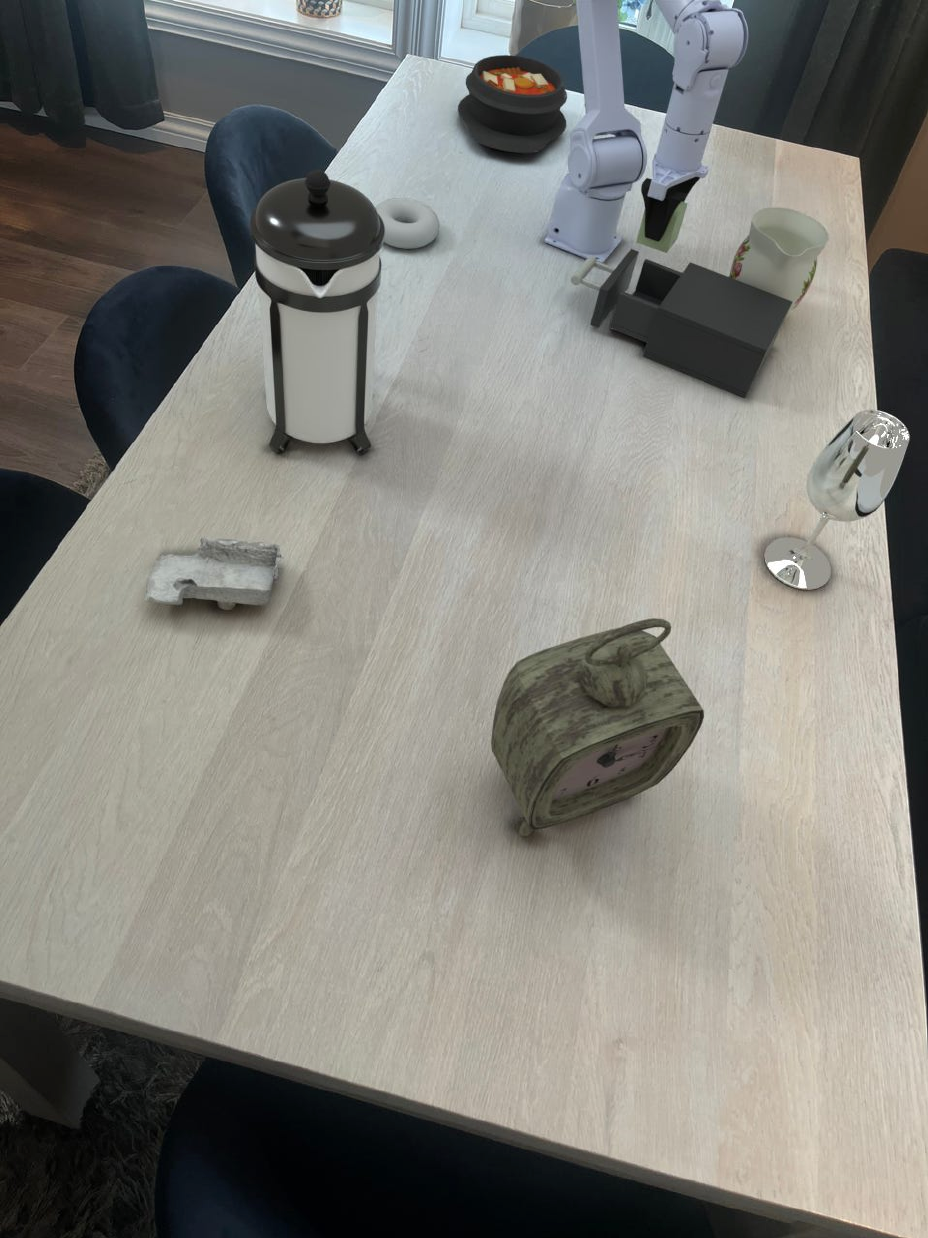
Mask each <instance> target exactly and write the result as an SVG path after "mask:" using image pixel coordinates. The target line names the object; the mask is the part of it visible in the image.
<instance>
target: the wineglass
mask: <svg viewBox="0 0 928 1238" xmlns="http://www.w3.org/2000/svg"><path fill="white" fill-rule="evenodd" d="M910 440H911V436H910V432H909V430H908V428H907V427H906V425H905V423H903V422H902V421H901V420H900V419H898V418H897V417H896V416H894V415H892V414H891V413H890V414H889V413H888V412H885V411H881V410H876V409H864V410H861V411H858V412H857V413H855V414H854V416H853V417H852V418H850V419H849V421H848V422H847V423H846V424H844V426H842V427H841V429H840V430H839V431H838V432H837V433H836V434H835V435H834V436H833V437H832V439H831V440H830V441H829V442H828V443H827V444H826V445H825V446H824V448H823V449H822V450H821V451H820V453H818V456H817V457H816V458H815V460H814V461H813V463H812V465H811V467H810V469H809V472H808V474H807V476H806V477H807V479H806V492H807V495H808V499H809V502H810V503H811V505H812V506H813V508H814V509H815V510H816V511H817V512H818V513H819V514H820V515H821V516H820V519H819V521H818V523H817V524H816V526H815V528H814V530H813V531H812V533H811V535H810V536H809V538H808V539H807V541H806V540H804V539H801V538H797V537H791V536H790V537H789V536H788V537H785V536H784V537H779V538H776V539H774V540H772V541H771V542H769V544H768V545H766V548H765V550H764V553H763V554H764V562H765V565H766V567H767V569H768V570H769V572H770V573H771V574H772V575H773V576H774V577H775V578H776V579H777V580H778V581H780V582H782V583H783V584H784V585H787V586H789V587H791V588H795V589H798V590H804V591H808V590H809V591H812V590H816V589H817V590H818V589H819V588H821V587H824V586H825V585H826V584H827V583H828V581H829V580H830V578H831V575H832V574H831V573H832V568H831V564H830V562H829V560H828V558H827V556H826V555H825V554H824V553H823V552H822V551H821V550H820V549H819V548H817V546H816V545H814V544H815V543H816V541H817V539H818V537H819V536H820V534H821V533H822V531H823V530H824V528H825V527H826V525H827V524H828V523H829V522H830V521H836V522H843V523H851V522H855V521H858V520H862V519H865V518H867V517H868V516H871V514H873V513H875V512H876V511H877V510H878V509H879V508H880V506H881V505H882V504H883V503H884V501H885V500H886V499H887V497H888V495H889V494H890V492H891V490H892V487H893V486H894V483H895V481H896V478H897V477H898V474H899V472H900V469H901V466H902V464H903V460H904V457H905V455H906V452H907V449H908V445H909V443H910Z"/></svg>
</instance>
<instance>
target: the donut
mask: <svg viewBox="0 0 928 1238" xmlns="http://www.w3.org/2000/svg"><path fill="white" fill-rule="evenodd" d="M374 207H375V209H376V211H377V213H378V214H379V216H380V217H381V219H382V221H383V223H384V227H385V237H384V244H386V245H388V246H391V247H394V248H399V249H404V250H405V249H407V250H408V249H418V248H423V247H425V246H426V245H429V244H431V243H432V242H433V241H434V240H435V239H436V238H437V236H438V234H439V230H440V221H439V217H438V215H437V213H436V212H435V211H434V209H433V208H431V206H430V205H428V204H426V203H424V202H422V201H421V200H417V199H414V198H407V197H394V198H388V199H385V200H384V201H381V202H380V203H378V204H377V205H375V206H374Z"/></svg>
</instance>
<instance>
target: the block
mask: <svg viewBox="0 0 928 1238" xmlns="http://www.w3.org/2000/svg"><path fill="white" fill-rule="evenodd" d="M688 205H689V204H688V202H685V201H684V202H681V203H680V204H679V205H678V207H677V208H676V210H675V211H674V213H673V215H672V217H671V219H670V222H669V224H668V226H667V229H666V231H665V233H664V235H663V237H662V238H661V240H660V241H659V242H657V241H654V240H652V239H649V238H646V237H645V209H644V210H643V214H642V218H641V223H640V225H639V228H638V229H639V230H638V233H637V237H636V241H635V243H637V244H640V245H642V246H645V247H648V248H651V249H654V250H656V251H660V252H663V253H665V254H667V253H668V252H669V251H670V250H671V248H672V247H673V246H674V244H675V243H676V241H677V240H678V238H679V235H680V231H681V228H682V225H683V221H684V217H685V214H686V211H687V207H688Z"/></svg>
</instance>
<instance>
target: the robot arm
mask: <svg viewBox="0 0 928 1238" xmlns="http://www.w3.org/2000/svg"><path fill="white" fill-rule="evenodd" d="M654 2H655V3H656V5H657V8H658V9H659V11H660V12H661V14H662V16H663V17H664V19H665V21H666V23H667V24H668V27H669V28H670V29H671V32H672V33H673V35H674V38H673V57H674V63H673V64H674V65H673V69H672V73H671V75H672V82H674V83H673V86H672V91H671V95H670V98H669V102H668V105H667V110H666V113H665V117H664V121H663V125H662V129H661V133H660V137H659V141H658V145H657V149H656V153H655V154H654V155H653V158H652V162H651V163H652V166H651V167H652V178H649V177H646V178H645V179H644V180H643V181H642V183H641V187H640V192H641V195H642V199H643V205H644V210H645V237H646V238H649V239H652V240H654V241H657V242H659V241H660V240H661V238H662V237H663V235H664V233H665V231H666V229H667V226H668V224H669V222H670V219H671V217H672V215H673V213H674V211H675V210H676V208H677V207H678V205H679V204H680V203H681V202H685V201H686V199H687V197H688V195H689V194H690V192H691V191H692V189H693V188H694V187H695V184H697V183H698V182H699V181H700V180H701V179H705V178H706V177H707V175H708V174H709V172H710V168H709V167H708V166H706V165H704V164H703V163H702V161H703V158H704V154H705V151H706V149H707V148H706V147H707V144H708V141H709V137H710V134H711V131H712V127H713V124H714V121H715V117H716V114H717V111H718V107H719V104H720V101H721V98H722V93H723V91H724V88H725V87H724V86H725V84H726V80H727V77H728V73H729V70H730V68H734V67H736V66H737V65H739V63H740V62H741V61H742V60H743V58H744V56H745V54H746V51H747V48H748V44H749V28H748V23H747V20H746V18H745V16H744V12H743V11H742V9H741V10H740V8H736V7H731V8H730V7H729V6H728V4H723V3H722V2H721V0H654ZM575 6H576V16H577V26H578V27H577V28H578V39H579V53H580V62H581V63H580V64H581V75H582V87H583V99H584V110H585V115H583V117H582V118H581V119H580V121H578V123H577V124H576V125H575V126H574V127H573V129H572V130H571V131H570V132H569V153H568V159H567V168H568V169H567V172H568V173H566V174H565V176H564V177H563V178H562V180H561V182H560V184H559V186H558V187H557V188H558V189H557V191H556V194H555V197H554V201H553V206H552V210H551V215H550V221H549V226H548V230H547V235H546V237H545V238H544V242H545V243H546V244H549V245H551V246H553V247H556V248H558V249H562V250H564V251H566V252H569V253H571V254H573V255H576V256H579V257H581V258H583V259H585V260H586V259H587V258H588V257H589V256H594V257H596V259H597V261H598V262H600V263H603V264H605V261H606V260H607V259H608V258H609V257H610V255H611V254H612V253H613V252H614V250H615V249H616V248H618V246H619V245H620V243H621V242H622V238H621V237H620V236H617V235H616V232H617V228H618V224H619V222H620V221H619V220H620V216H621V214H622V210H623V206H624V202H625V197H626V194H627V193H628V192H631V191H632V188H633V184H635V183H638V182H639V181H640V180H641V179H642V178H643V176H644V175H645V171H646V169H647V163H648V151H647V147H646V144H645V141H644V139H643V135H642V123H641V122H640V120H639V119H637V117H635V116H634V114H632V113H631V112H630V111H629V110H628V109H627V108H626V107H625V94H624V79H623V66H622V65H623V63H622V53H621V52H622V50H621V37H620V24H619V23H620V21H619V10H618V9H619V8H618V0H575ZM607 135H612V136H608V137H601V136H607ZM595 137H599V138H595ZM600 137H601V138H600Z"/></svg>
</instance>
